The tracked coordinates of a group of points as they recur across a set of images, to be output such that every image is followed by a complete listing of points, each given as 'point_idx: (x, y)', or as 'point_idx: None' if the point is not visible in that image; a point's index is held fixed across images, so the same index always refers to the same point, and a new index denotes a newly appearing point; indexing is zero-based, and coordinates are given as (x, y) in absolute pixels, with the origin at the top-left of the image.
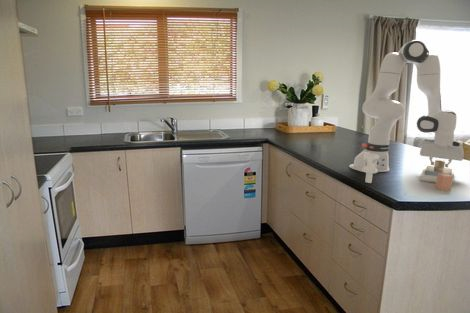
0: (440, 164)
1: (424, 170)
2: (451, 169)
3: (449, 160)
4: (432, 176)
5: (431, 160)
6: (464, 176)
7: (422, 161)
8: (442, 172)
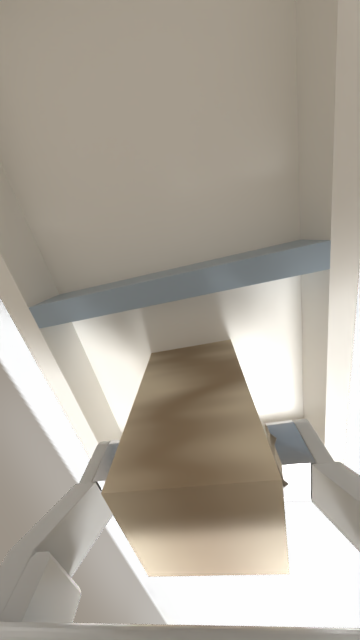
0: (172, 436)
1: (341, 222)
2: None
3: (24, 581)
4: (205, 209)
5: (356, 496)
6: (61, 449)
7: (345, 582)
8: (123, 308)
